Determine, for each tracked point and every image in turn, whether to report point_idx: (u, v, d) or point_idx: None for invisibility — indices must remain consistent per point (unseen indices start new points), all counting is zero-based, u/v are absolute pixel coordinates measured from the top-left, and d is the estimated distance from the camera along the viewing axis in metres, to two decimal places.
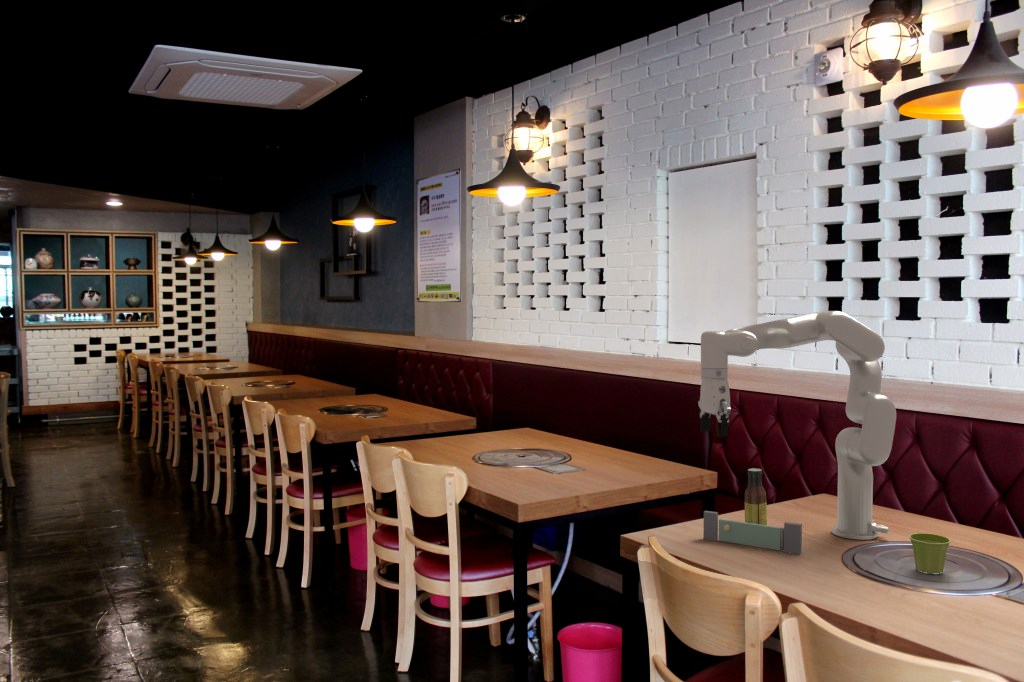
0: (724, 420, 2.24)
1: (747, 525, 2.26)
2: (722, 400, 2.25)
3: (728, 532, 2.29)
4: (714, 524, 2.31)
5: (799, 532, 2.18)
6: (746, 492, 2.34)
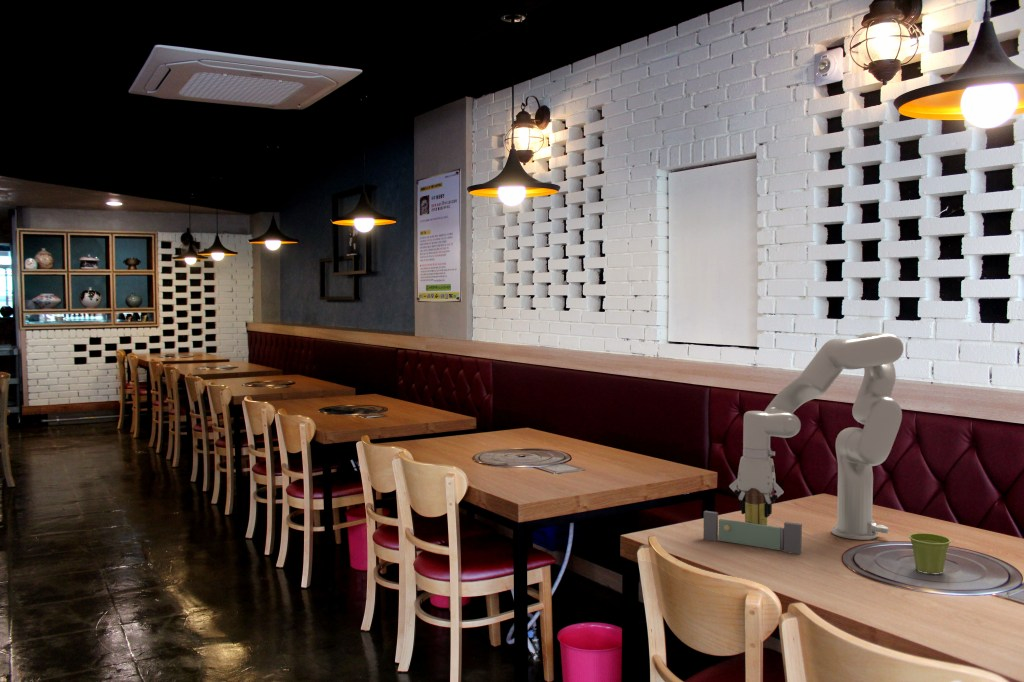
0: None
1: (747, 525, 2.26)
2: (773, 480, 2.32)
3: (728, 532, 2.29)
4: (714, 524, 2.31)
5: (799, 532, 2.18)
6: (746, 492, 2.34)
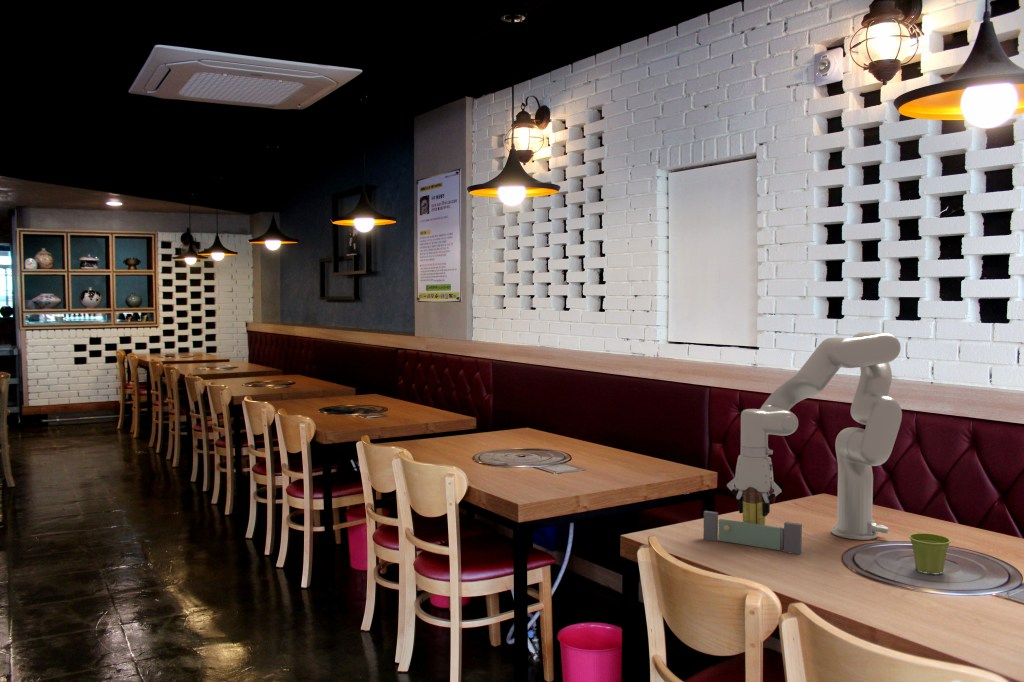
0: None
1: (747, 525, 2.26)
2: (771, 479, 2.29)
3: (728, 532, 2.29)
4: (714, 524, 2.31)
5: (799, 532, 2.18)
6: (744, 491, 2.32)
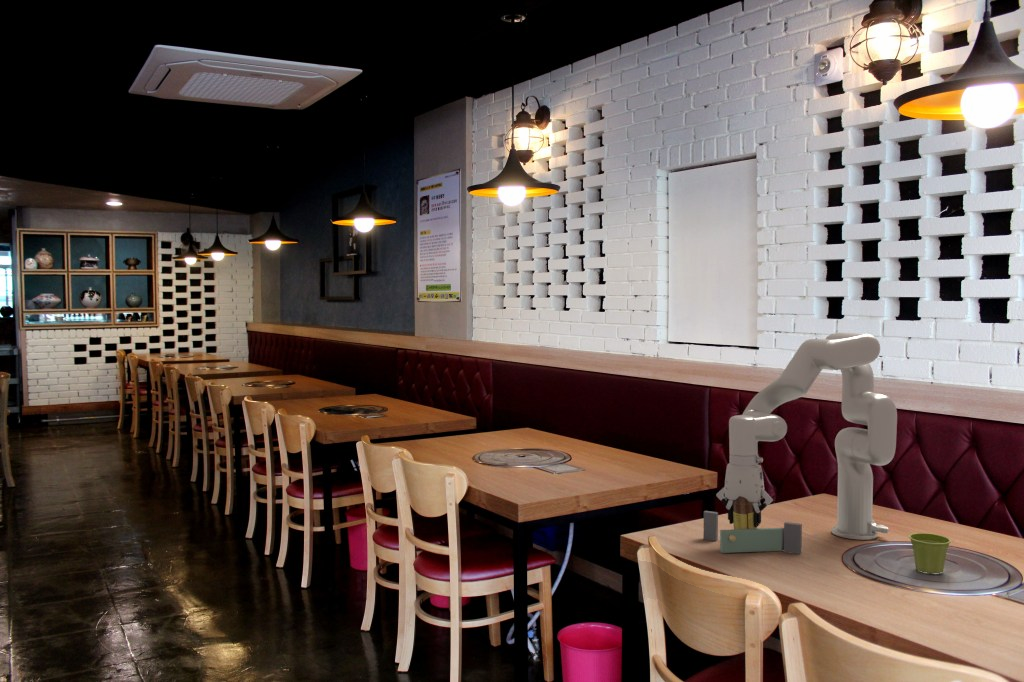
0: (762, 509, 2.20)
1: (750, 531, 2.19)
2: (761, 488, 2.20)
3: (731, 542, 2.19)
4: (714, 524, 2.31)
5: (799, 532, 2.18)
6: (734, 501, 2.23)
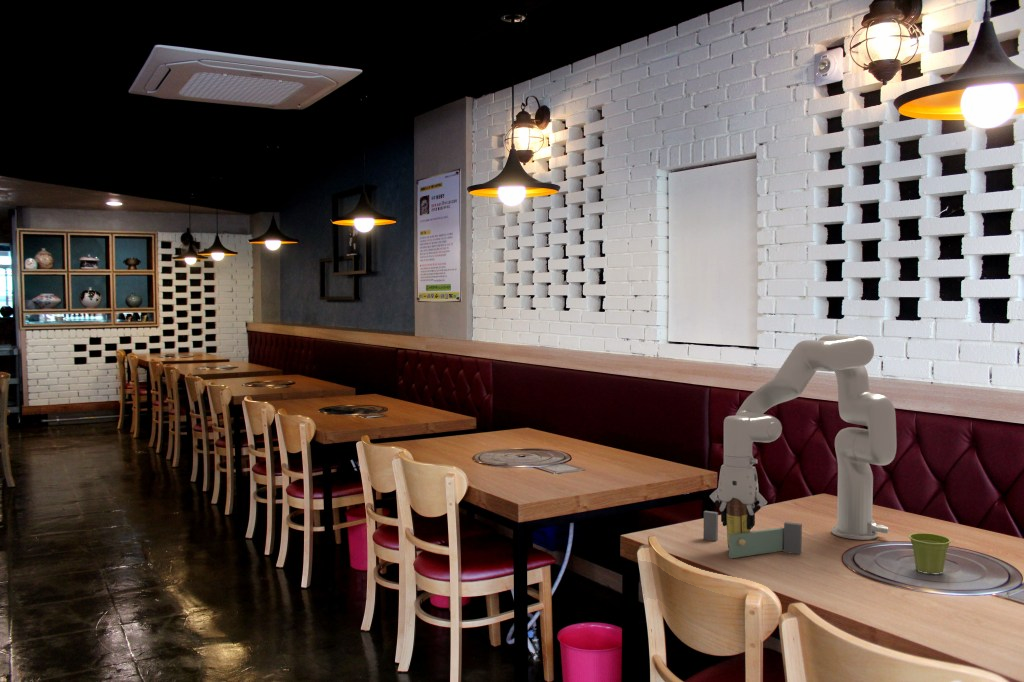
0: None
1: (756, 534, 2.17)
2: (756, 490, 2.16)
3: (740, 546, 2.15)
4: (714, 524, 2.31)
5: (799, 532, 2.18)
6: (728, 503, 2.19)
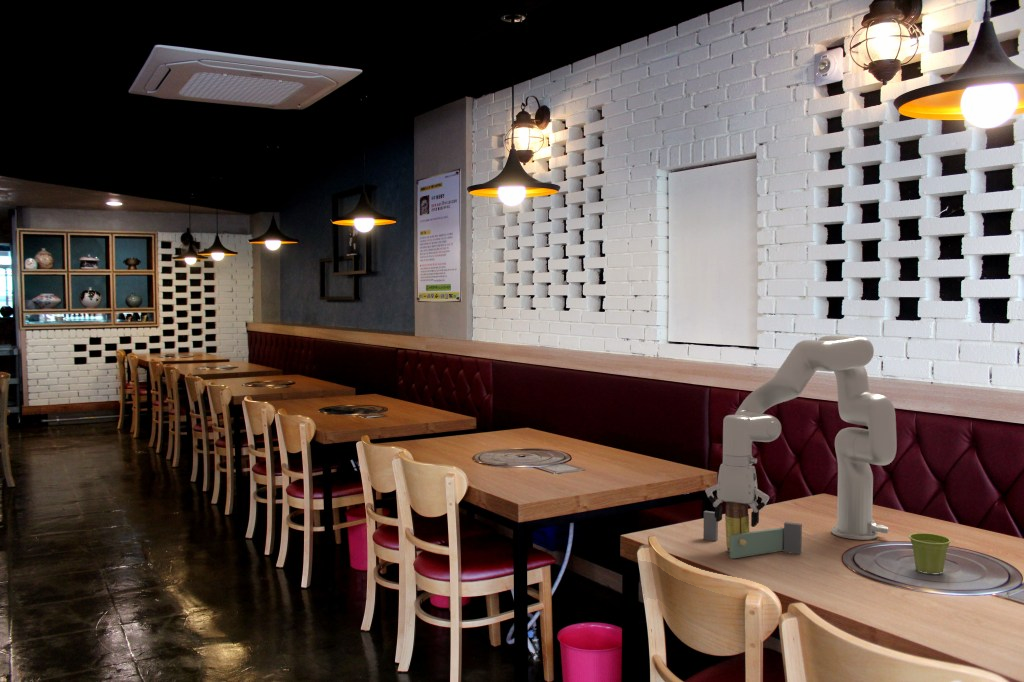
0: None
1: (757, 534, 2.17)
2: (755, 488, 2.16)
3: (741, 547, 2.15)
4: (714, 524, 2.31)
5: (799, 532, 2.18)
6: (727, 505, 2.18)
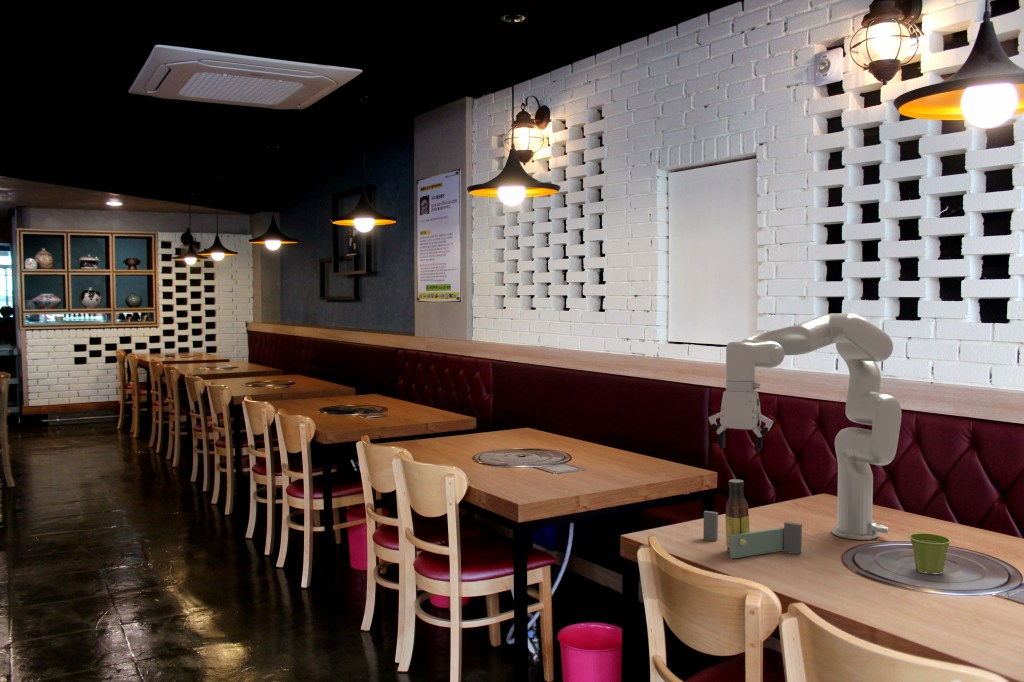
0: None
1: (757, 534, 2.17)
2: (758, 413, 2.16)
3: (741, 547, 2.15)
4: (714, 524, 2.31)
5: (799, 532, 2.18)
6: (727, 505, 2.19)
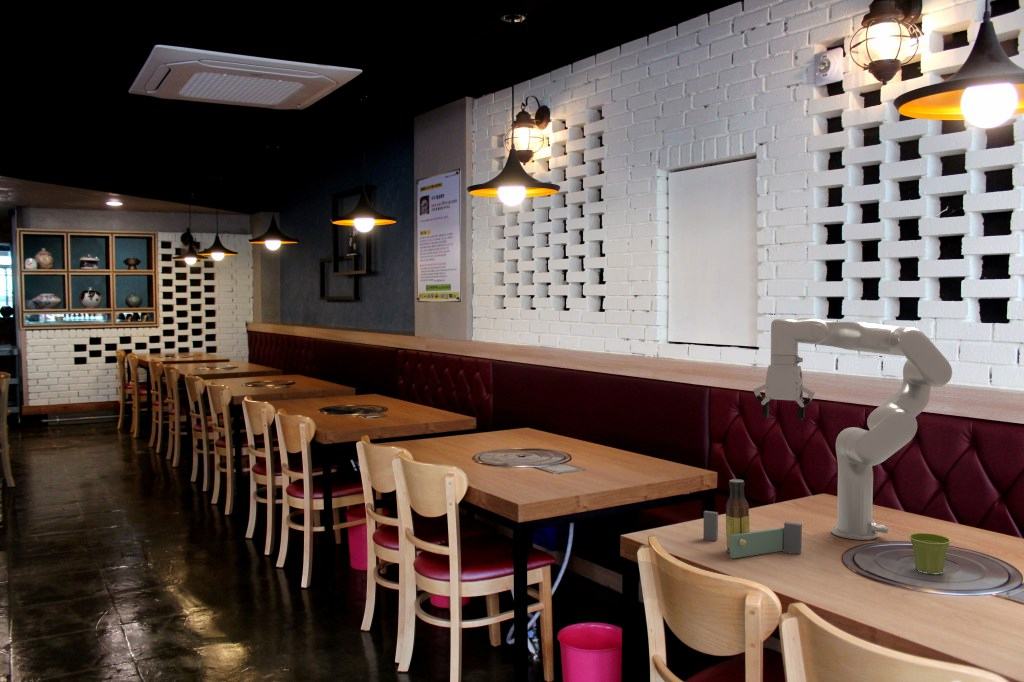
0: (806, 404, 2.32)
1: (757, 534, 2.17)
2: (801, 385, 2.33)
3: (741, 547, 2.15)
4: (714, 524, 2.31)
5: (799, 532, 2.18)
6: (728, 505, 2.19)
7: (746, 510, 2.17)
